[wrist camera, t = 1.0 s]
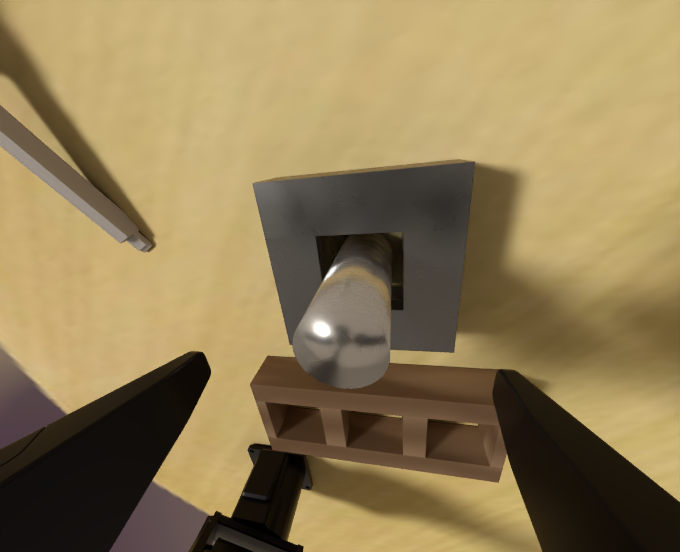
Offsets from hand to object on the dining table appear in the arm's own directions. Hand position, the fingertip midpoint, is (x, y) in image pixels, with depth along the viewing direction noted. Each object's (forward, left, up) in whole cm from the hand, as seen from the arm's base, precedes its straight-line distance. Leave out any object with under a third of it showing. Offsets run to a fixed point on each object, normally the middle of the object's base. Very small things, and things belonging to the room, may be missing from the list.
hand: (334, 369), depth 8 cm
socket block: (0, 0, -10) cm, 10 cm away
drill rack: (-13, 0, -10) cm, 16 cm away
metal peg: (0, 0, -10) cm, 10 cm away
